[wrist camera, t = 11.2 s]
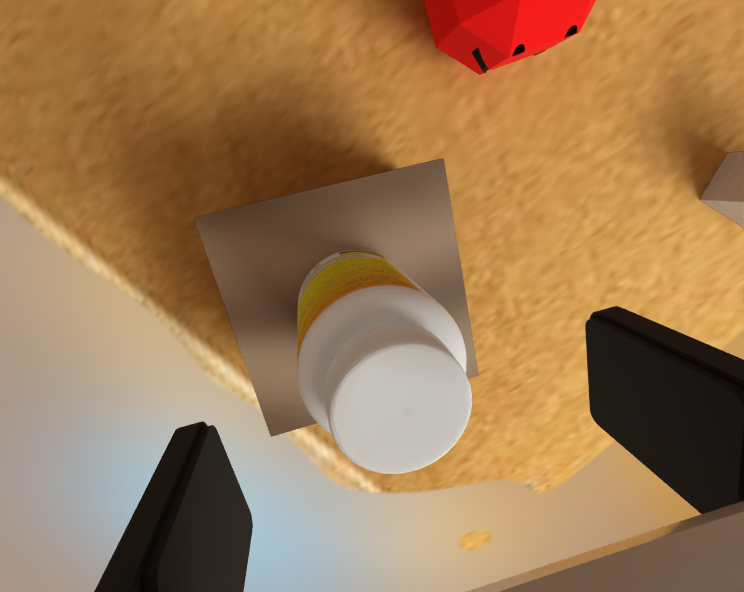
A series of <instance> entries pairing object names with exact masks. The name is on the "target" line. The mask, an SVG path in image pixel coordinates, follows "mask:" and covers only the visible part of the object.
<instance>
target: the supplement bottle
mask: <svg viewBox="0 0 744 592" xmlns="http://www.w3.org/2000/svg"><path fill="white" fill-rule="evenodd" d="M297 311H298V315H297V328H298V332H297V374H298V384H299V389H300V393H301V396H302V399H303V401H304V404H305V406H306V408H307V410H308V411H309V413H310V414H311V416H312V417H313V418H314V420H315V421H316V422H317V423H318V424H319V425H320V426H321V427H322V428H323V429H324V430H326V431H327V432H328V433H330V434H331V435H332V436H333V439H334V440H335V442H336V444H337V446H338V447H339V448H340V450H341V451H342V452H343V453H344V454H345V456H347V457H348V458H349V459H350V460H351V461H352V462H354V463H356V464H357V465H359V466H360V467H363V468H365V469H368V470H371V471H374V472H379V473H386V474H399V473H406V472H410V471H415V470H418V469H421V468H423V467H425V466H427V465H429V464H431V463H433V462H435V461H436V460H438V459H439V458H441V457H442V456H443V455H445V454H446V453H447V452H448V451H449V450H450V449H451V448H452V447H453V446H454V445H455V444H456V442H457V441H458V440H459V438H460V437H461V435H462V433H463V432H464V430H465V428H466V425H467V423H468V420H469V417H470V413H471V407H472V393H471V387H470V383H469V380H468V377H467V375H466V362H467V357H466V349H465V344H464V340H463V337H462V334H461V332H460V329H459V327H458V326H457V324H456V322H455V321H454V319H453V318H452V317H451V315H450V314H449V313H448V312H447V310H446V309H445V308H444V307H443V306H442V305H441V304H439V303H438V302H437V301H436V300H435V299H434V298H433V297H431V296H430V295H429V294H428V293H427V292H425V291H424V290H423V289H422V288H421V287H420V286H419V285H418V284H417V283H415V282H414V281H413V280H412V279H411V278H410V277H408V276H407V275H406V274H405V273H404V272H403V271H402V270H400V269H399V268H398V267H397V266H396V265H395V264H393V263H392V262H391V261H389V260H388V259H386V258H385V257H383V256H381V255H379V254H376V253H374V252H370V251H365V250H346V251H341V252H338V253H335V254H333V255H331V256H329V257H327V258H325V259H324V260H322V261H321V262H319V263H318V264H317V265H316V266H315V267H314V268H313V269H312V270H311V271H310V273H309V274H308V275H307V277H306V279H305V280H304V282H303V284H302V287H301V290H300V293H299V298H298V305H297Z"/></svg>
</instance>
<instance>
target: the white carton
mask: <svg viewBox="0 0 744 592" xmlns="http://www.w3.org/2000/svg"><path fill="white" fill-rule="evenodd" d="M700 201H702V202H703V203H705V204H706V205H708V206H710V207H711V208H713V209H714V210H716V211H717V212H719V213H721V214H722V215H724V216H725V217H727V218H728V219H730V220H732V221H733V222H735V223H736V224H738V225H740V226H741V227H743V228H744V152H732V153H727V155H726V157H725V158H724V160H723V162H722V163H721V165H720V167H719V168H718V170H717V172H716V173H715V175H714V177H713V178H712V180H711V182H710V183H709V185H708V187H707V188H706V190H705V192H704V193H703V195H702V197H701V198H700Z"/></svg>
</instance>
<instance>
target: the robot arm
mask: <svg viewBox="0 0 744 592" xmlns="http://www.w3.org/2000/svg"><path fill="white" fill-rule="evenodd" d="M585 329H586V347H587V365H588V383H589V401H590V412H591V415H592V417H593V419H594V421H595V422H596V423H597V424H598V425H599V426H600V427H601V428H602V429H603V430H604V431H606V432H607V433H608V434H609V435H610V436H611V437H613V438H614V439H615V440H616V441H617V442H618V443H620V444H621V445H622V446H623V447H624V448H625V449H626V450H628V451H629V452H630V453H631V454H632V455H634V456H635V457H636V458H637V459H638V460H639V461H640V462H642V463H643V464H644V465H645V466H646V467H647V468H649V469H650V470H651V471H652V472H653V473H654V474H656V475H657V476H658V477H659V478H660V479H661V480H663V481H664V482H665V483H666V484H667V485H668V486H670V487H671V488H672V489H673V490H674V491H675V492H676V493H678V494H679V495H680V496H681V497H682V498H684V499H685V500H686V501H687V502H688V503H689V504H690V505H692V506H693V507H694V508H695V509H697V510H698V511H699V512H700V513H701V514H702V515H699V516H696V517H692V518H689V519H687V520H683V521H680V522H677V523H674V524H671V525H668V526H665V527H662V528H659V529H656V530H652V531H649V532H647V533H643V534H640V535H637V536H634V537H631V538H628V539H625V540H622V541H618V542H616V543H612V544H609V545H606V546H603V547H601V548H597V549H594V550H591V551H589V552H585V553H582V554H579V555H576V556H573V557H570V558H567V559H564V560H561V561H558V562H555V563H552V564H549V565H546V566H543V567H540V568H537V569H534V570H531V571H528V572H525V573H522V574H519V575H516V576H513V577H510V578H507V579H504V580H501V581H498V582H495V583H492V584H489V585H486V586H483V587H480V588H477V589H474V590H471V591H468V592H744V360H743V359H741V358H738V357H736V356H734V355H731V354H729V353H726V352H724V351H722V350H719V349H717V348H715V347H712V346H710V345H708V344H705V343H703V342H701V341H698V340H696V339H694V338H691V337H689V336H687V335H684V334H682V333H680V332H677V331H675V330H673V329H670V328H668V327H666V326H663V325H661V324H658V323H656V322H654V321H651V320H649V319H647V318H644V317H642V316H640V315H637V314H635V313H633V312H630V311H628V310H626V309H623V308H621V307H617V306H615V307H611V308H607V309H604V310H600V311H596V312H593V313H592V314H591V316H590V319H589V320H587V322H586V326H585ZM252 525H253V524H252V516H251V513H250V510H249V508H248V505H247V502H246V500H245V498H244V495H243V493H242V490H241V488H240V485H239V483H238V480H237V478H236V476H235V473H234V471H233V468H232V466H231V464H230V461H229V459H228V456H227V454H226V451H225V449H224V446H223V444H222V442H221V439H220V436H219V434H218V432H217V429H216V428H215V427H214V426H213V425H211V426H207V425H206V423H205V422H198V423H195V424H191V425H188V426H184V427H180V428H178V429H176V431H175V432H174V434H173V436H172V438H171V440H170V442H169V444H168V446H167V448H166V450H165V452H164V454H163V456H162V458H161V460H160V462H159V464H158V466H157V468H156V470H155V472H154V474H153V476H152V478H151V480H150V482H149V484H148V486H147V488H146V490H145V492H144V494H143V496H142V498H141V500H140V502H139V504H138V506H137V508H136V510H135V512H134V514H133V516H132V518H131V520H130V522H129V524H128V526H127V528H126V530H125V532H124V534H123V536H122V538H121V540H120V542H119V544H118V546H117V548H116V550H115V552H114V554H113V556H112V558H111V560H110V562H109V564H108V566H107V568H106V570H105V572H104V574H103V576H102V578H101V580H100V582H99V584H98V586H97V588H96V590H95V591H94V592H243V590H244V583H245V576H246V570H247V563H248V556H249V549H250V542H251V536H252V528H253V526H252Z"/></svg>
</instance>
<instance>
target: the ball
mask: <svg viewBox="0 0 744 592" xmlns="http://www.w3.org/2000/svg"><path fill="white" fill-rule="evenodd" d="M424 1H425V5H426V9H427V13H428V17H429V21H430V25H431V29H432V32H433V36H434V40H435V44H436V47H437V48H438V49H440V50H441V51H443V52H445V53H446V54H448V55H449V56H451V57H452V58H454V59H456V60H457V61H459V62H460V63H462V64H464V65H465V66H467V67H468V68H470V69H471V70H473V71H475V72H476V73H478V74H479V75H481V74H484V73H486V71H487V70H492V69H495V68H498V67H500V66H503V65H506V64H509V63H512V62H514V61H517V60H520V59H523V58H526V57H528V56H531V55H537V54H540V53H542V52H544V51H545V50H546V49H548V48H551V47H553V46H555V45H557V44H558V43H560V42H562V41H564V40H566V39H568V38H569V37H571V36H573V35H575V34H577V33H579V32H580V30H581V28H582V26H583V24H584V22H585V21H586V19H587V17H588V15H589V13H590V11H591V9H592V7H593V5H594V3H595V1H596V0H424Z"/></svg>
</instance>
